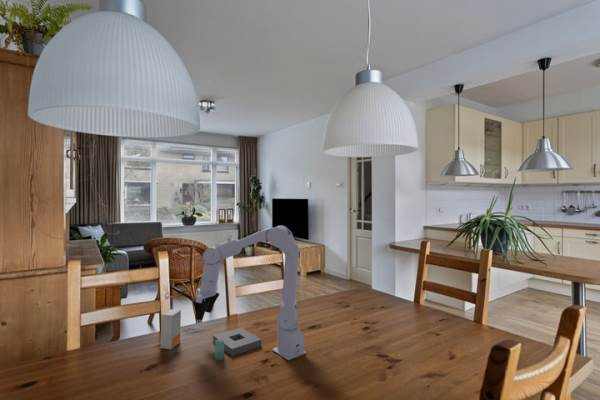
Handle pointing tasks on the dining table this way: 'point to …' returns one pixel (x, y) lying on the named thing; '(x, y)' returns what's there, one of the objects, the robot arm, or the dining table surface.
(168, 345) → the skincare box
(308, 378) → the dining table surface
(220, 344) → the peg
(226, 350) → the peg block
